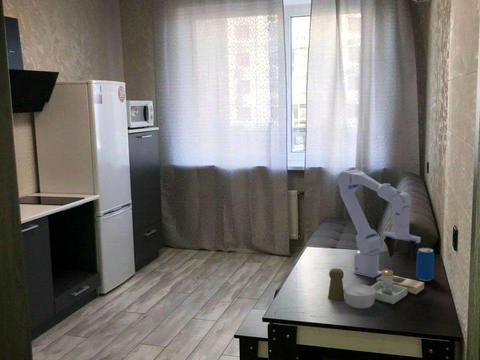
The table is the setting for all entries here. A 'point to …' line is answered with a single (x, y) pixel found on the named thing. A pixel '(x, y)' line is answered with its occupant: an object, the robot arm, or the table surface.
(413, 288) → the wooden block with hole
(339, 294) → the cork
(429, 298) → the table surface
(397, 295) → the tray
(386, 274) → the white and gold cylinder
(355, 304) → the ramekin
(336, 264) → the table surface
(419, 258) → the beverage can
